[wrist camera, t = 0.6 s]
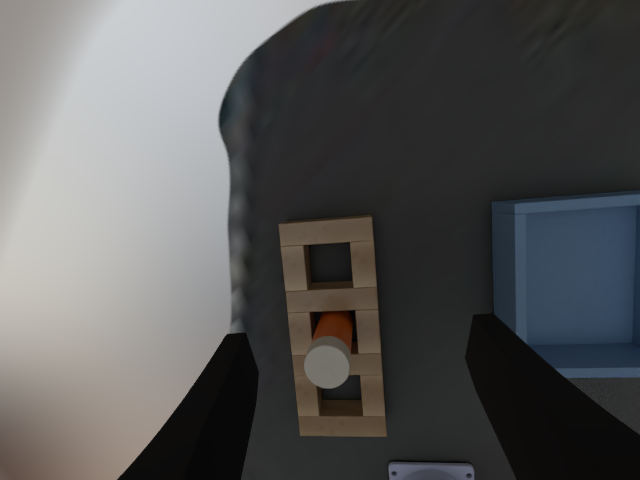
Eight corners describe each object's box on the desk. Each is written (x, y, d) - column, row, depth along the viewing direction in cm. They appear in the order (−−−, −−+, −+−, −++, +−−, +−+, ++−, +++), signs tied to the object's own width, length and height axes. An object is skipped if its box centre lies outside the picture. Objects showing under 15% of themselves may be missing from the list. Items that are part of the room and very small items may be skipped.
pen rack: (385, 418, 33) (386, 437, 30) (304, 417, 34) (300, 436, 32) (371, 214, 30) (372, 216, 28) (285, 221, 31) (278, 223, 29)
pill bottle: (354, 337, 32) (351, 388, 24) (320, 338, 33) (305, 389, 24) (352, 304, 32) (348, 344, 23) (317, 306, 32) (301, 346, 24)
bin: (636, 348, 29) (686, 376, 25) (494, 351, 31) (516, 378, 26) (642, 189, 27) (697, 189, 23) (491, 201, 29) (514, 203, 24)
